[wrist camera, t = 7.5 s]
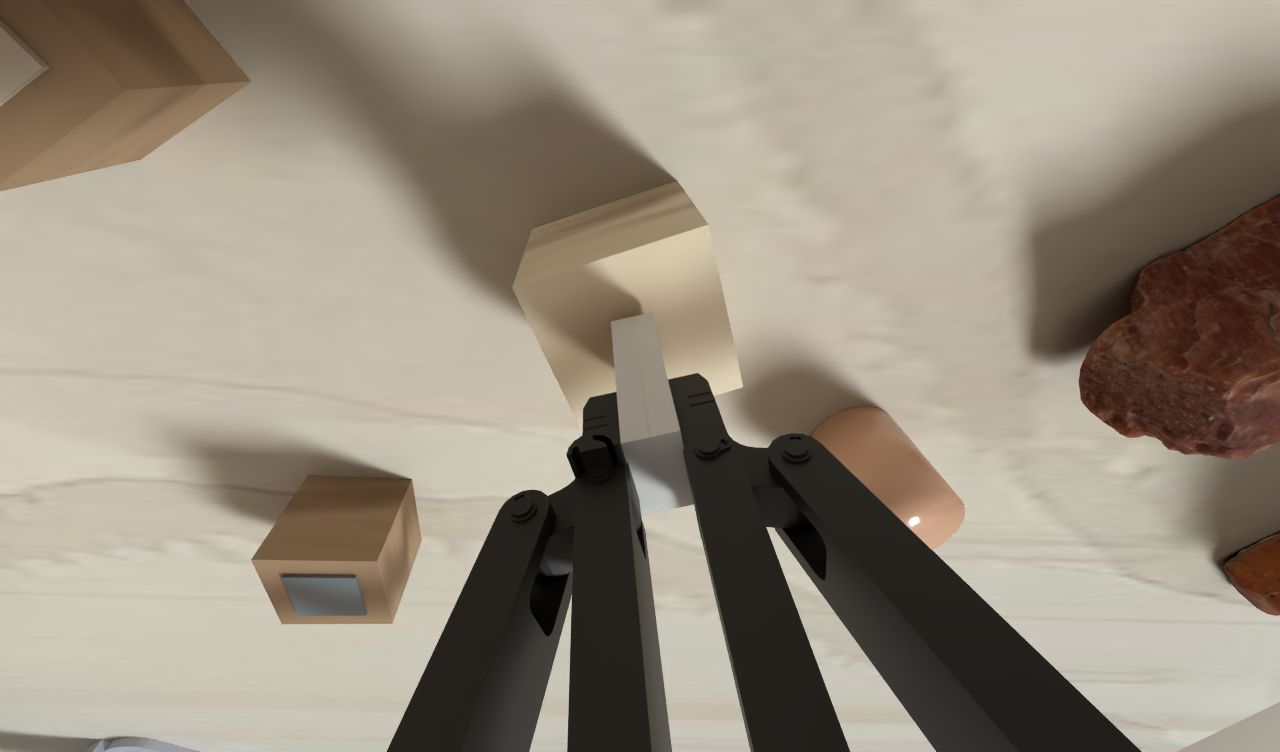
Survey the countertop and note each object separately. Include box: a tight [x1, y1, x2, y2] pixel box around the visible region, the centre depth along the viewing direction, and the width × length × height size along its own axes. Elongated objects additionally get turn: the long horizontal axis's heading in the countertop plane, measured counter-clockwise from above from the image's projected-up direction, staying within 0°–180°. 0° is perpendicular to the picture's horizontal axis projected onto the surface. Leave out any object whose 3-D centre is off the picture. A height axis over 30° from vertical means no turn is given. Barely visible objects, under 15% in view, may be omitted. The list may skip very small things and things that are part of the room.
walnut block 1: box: [0, 0, 251, 191], centre depth 15 cm, size 6×6×6 cm
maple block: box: [512, 181, 743, 432], centre depth 21 cm, size 7×7×7 cm
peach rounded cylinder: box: [811, 406, 965, 550], centre depth 29 cm, size 6×6×7 cm
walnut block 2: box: [251, 475, 421, 624], centre depth 29 cm, size 6×6×6 cm
